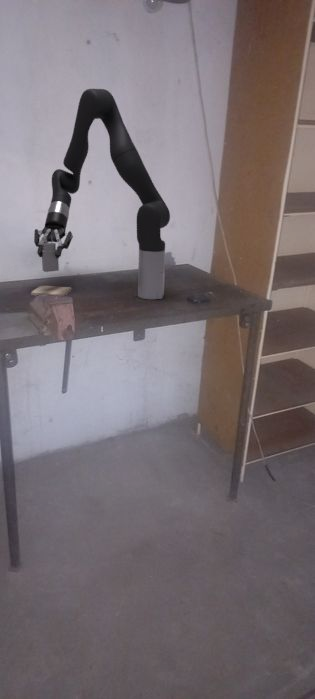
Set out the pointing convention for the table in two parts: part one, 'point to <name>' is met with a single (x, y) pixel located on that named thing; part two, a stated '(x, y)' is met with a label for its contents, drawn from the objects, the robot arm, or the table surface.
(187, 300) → the table surface
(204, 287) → the table surface
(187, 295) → the table surface
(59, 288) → the birch board
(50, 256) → the power adapter
